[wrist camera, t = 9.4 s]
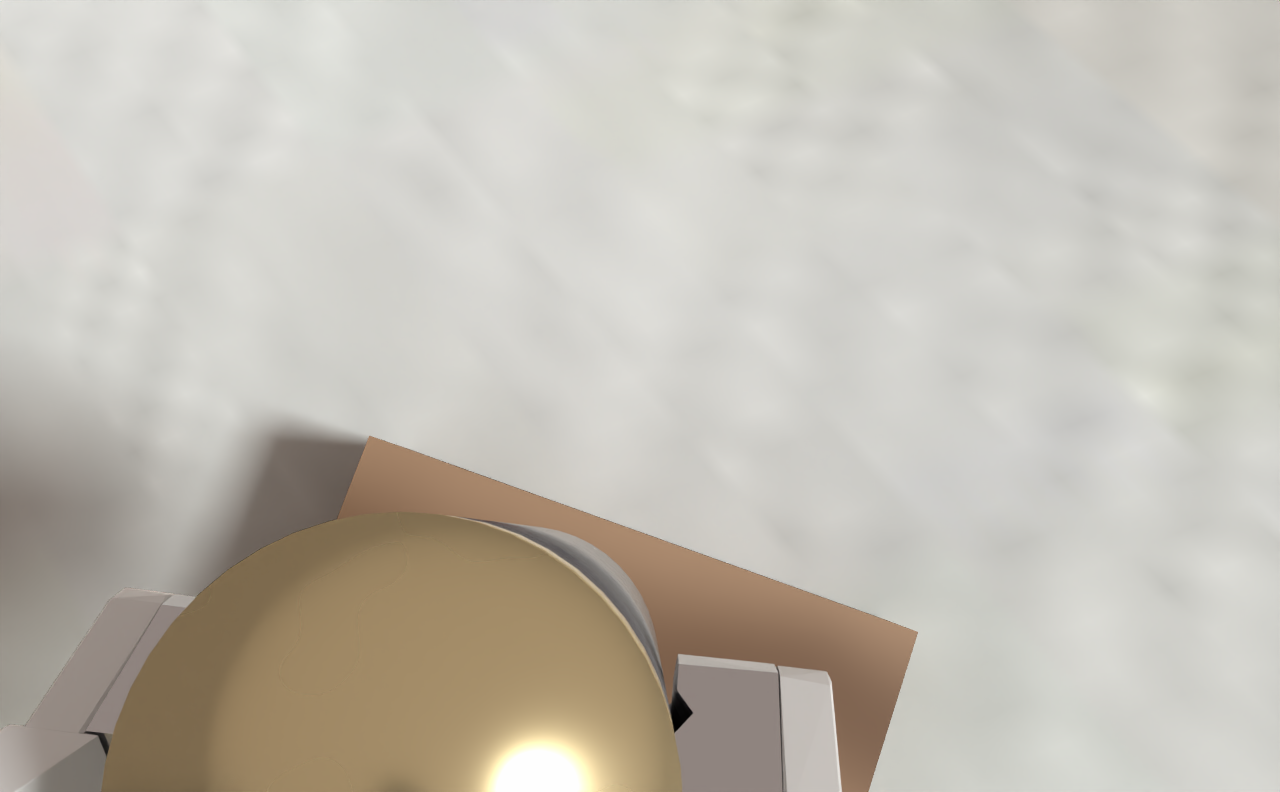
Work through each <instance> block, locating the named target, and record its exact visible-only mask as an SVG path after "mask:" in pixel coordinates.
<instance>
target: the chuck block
mask: <svg viewBox="0 0 1280 792" xmlns="http://www.w3.org/2000/svg"><path fill="white" fill-rule="evenodd" d="M390 512H413V513H427V514H440V515H448V516H456V517H464V518H472V519H480V520H488V521H496V522H504V523H512V524H519V525H527V526H535V527H543V528H548V529H553V530H558V531H562V532H564V533H567V534H570V535H573V536H576V537H578V538H580V539H582V540H584V541H586V542H588V543H590V544H592V545H593V546H595V547H596V548H598V549H599V550H601V551H602V552H604V553H605V554H607V555H608V556H609V557H610V558H611V559H612V560H613V561H614V562H615V563H617V564H618V565H619V566H620V567H621V568H622V570H623V571H624V572H625V573H626V574H627V575H628V577H629V578H630V579H631V580H632V582H633V583H634V585H635V586H636V588H637V589H638V591H639V593H640V594H641V596H642V598H643V600H644V602H645V604H646V606H647V608H648V611H649V613H650V617H651V620H652V623H653V626H654V629H655V634H656V640H657V645H658V650H659V655H660V661H661V666H662V671H663V676H664V682H665V687H666V692H667V697H668V703H669V704H670V703H671V702H672V689H673V676H674V671H675V665H676V660H677V656H678V654H683V655H693V656H702V657H712V658H722V659H731V660H741V661H750V662H760V663H769V664H774V665H775V667H776V666H785V667H794V668H803V669H811V670H820V671H826V672H827V673H828V675H829V677H830V679H831V681H832V691H833V702H834V713H835V723H836V734H837V745H838V756H839V767H840V778H841V788H842V792H868V791H869V788H870V784H871V781H872V778H873V775H874V772H875V768H876V765H877V762H878V759H879V756H880V752H881V749H882V746H883V743H884V740H885V736H886V733H887V730H888V727H889V724H890V720H891V717H892V714H893V711H894V708H895V704H896V701H897V698H898V695H899V692H900V688H901V685H902V682H903V679H904V675H905V672H906V669H907V666H908V663H909V659H910V656H911V653H912V650H913V647H914V643H915V640H916V637H917V634H918V632H916V631H914V630H911V629H908V628H906V627H903V626H900V625H898V624H895V623H892V622H890V621H887V620H884V619H882V618H879V617H876V616H874V615H871V614H868V613H865V612H862V611H860V610H857V609H854V608H851V607H848V606H846V605H843V604H840V603H837V602H834V601H832V600H829V599H826V598H823V597H820V596H818V595H815V594H812V593H809V592H806V591H804V590H801V589H798V588H795V587H793V586H790V585H787V584H784V583H781V582H779V581H776V580H773V579H770V578H767V577H765V576H762V575H759V574H756V573H753V572H751V571H748V570H745V569H742V568H739V567H737V566H734V565H731V564H728V563H725V562H723V561H720V560H717V559H714V558H711V557H709V556H706V555H703V554H700V553H698V552H695V551H692V550H689V549H686V548H684V547H681V546H678V545H675V544H672V543H670V542H667V541H664V540H661V539H658V538H656V537H653V536H650V535H647V534H644V533H642V532H639V531H636V530H633V529H630V528H628V527H625V526H622V525H619V524H616V523H614V522H611V521H608V520H605V519H602V518H600V517H597V516H594V515H591V514H589V513H586V512H583V511H580V510H577V509H575V508H572V507H569V506H566V505H563V504H561V503H558V502H555V501H552V500H549V499H547V498H544V497H541V496H538V495H535V494H533V493H530V492H527V491H524V490H521V489H519V488H516V487H513V486H510V485H507V484H505V483H502V482H499V481H496V480H494V479H491V478H488V477H485V476H482V475H480V474H477V473H474V472H471V471H468V470H466V469H463V468H460V467H457V466H454V465H452V464H449V463H446V462H443V461H440V460H438V459H435V458H432V457H429V456H426V455H424V454H421V453H418V452H415V451H412V450H410V449H407V448H404V447H401V446H398V445H395V444H392V443H389V442H386V441H383V440H380V439H377V438H374V437H372V436H369V438H368V440H367V443H366V446H365V448H364V451H363V453H362V456H361V458H360V461H359V464H358V466H357V469H356V471H355V474H354V476H353V479H352V481H351V484H350V487H349V489H348V492H347V494H346V497H345V499H344V502H343V504H342V507H341V510H340V512H339V515H338V517H337V519H342V518H348V517H353V516H358V515H363V514H373V513H390Z"/></svg>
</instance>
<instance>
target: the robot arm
mask: <svg viewBox="0 0 1280 792" xmlns="http://www.w3.org/2000/svg"><path fill="white" fill-rule="evenodd" d="M195 598H196V597H194V596H188V595H181V594H174V593H166V592H158V591H150V590H142V589H135V588H127V587H125V588H124V589H122V590H121V591H120V592H119V593H117V594H116V595H115V596H113V597H112V598H111V599H110V600H109V601H108V602H107V604H106V605H105V607H104V608H103V610H102V611H101V613H100V614H99V616H98V617H97V619H96V620H95V622H94V623H93V625H92V626H91V628H90V629H89V631H88V632H87V634H86V635H85V637H84V638H83V640H82V641H81V642H80V644H79V645H78V647H77V648H76V650H75V651H74V653H73V654H72V656H71V657H70V659H69V660H68V662H67V663H66V665H65V666H64V668H63V669H62V671H61V672H60V674H59V675H58V677H57V678H56V680H55V681H54V683H53V684H52V686H51V687H50V689H49V690H48V692H47V693H46V695H45V696H44V698H43V699H42V701H41V702H40V704H39V705H38V707H37V708H36V710H35V711H34V713H33V714H32V716H31V717H30V719H29V720H28V722H27V723H26V725H25V726H22V725H11V724H9V725H7V726H6V727H4V728H3V729H1V730H0V792H101V788H102V781H103V774H104V766H105V762H106V758H107V754H108V750H109V747H110V743H111V739H112V736H113V732H114V728H115V725H116V722H117V720H118V717H119V715H120V713H121V710H122V708H123V705H124V703H125V700H126V698H127V695H128V693H129V690H130V688H131V686H132V684H133V683H134V681H135V679H136V677H137V675H138V674H139V672H140V670H141V668H142V666H143V665H144V663H145V661H146V659H147V657H148V656H149V654H150V653H151V651H152V650H153V648H154V647H155V646H156V644H157V643H158V642H159V640H160V639H161V637H162V636H163V635H164V633H165V632H166V631H167V629H168V628H169V626H170V625H171V624H172V622H173V621H174V620H175V619H176V618H177V617H178V616H179V615H180V614H181V613H182V612H183V611H184V610H185V608H186V607H187V606H188V605H189V604H190V603H191V602H192V601H193V600H194V599H195ZM669 708H670V713H671V719H672V724H673V729H674V734H675V740H676V745H677V750H678V755H679V761H680V766H681V779H682V792H842V788H841V778H840V767H839V756H838V745H837V734H836V723H835V713H834V702H833V691H832V681H831V679H830V677H829V675H828V673H827V672H826V671H820V670H811V669H803V668H794V667H785V666H776V667H775V665H774V664H769V663H760V662H750V661H741V660H731V659H722V658H712V657H702V656H693V655H683V654H678V656H677V660H676V665H675V671H674V676H673V689H672V702H671V703H670V704H669Z"/></svg>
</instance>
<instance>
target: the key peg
mask: <svg viewBox="0 0 1280 792" xmlns="http://www.w3.org/2000/svg"><path fill="white" fill-rule="evenodd" d="M101 792H682V779H681V766H680V761H679V755H678V750H677V745H676V740H675V734H674V729H673V724H672V719H671V713H670V708H669V703H668V697H667V692H666V687H665V682H664V676H663V671H662V666H661V661H660V655H659V650H658V645H657V640H656V634H655V629H654V626H653V623H652V620H651V617H650V613H649V611H648V608H647V606H646V604H645V602H644V600H643V598H642V596H641V594H640V593H639V591H638V589H637V588H636V586H635V585H634V583H633V582H632V580H631V579H630V578H629V577H628V575H627V574H626V573H625V572H624V571H623V570H622V568H621V567H620V566H619V565H618V564H617V563H615V562H614V561H613V560H612V559H611V558H610V557H609V556H608V555H607V554H605V553H604V552H602V551H601V550H599V549H598V548H596V547H595V546H593V545H592V544H590V543H588V542H586V541H584V540H582V539H580V538H578V537H576V536H573V535H570V534H567V533H564V532H562V531H558V530H553V529H548V528H543V527H535V526H527V525H519V524H512V523H504V522H496V521H488V520H480V519H472V518H464V517H456V516H448V515H440V514H427V513H413V512H390V513H373V514H363V515H358V516H353V517H348V518H342V519H337V520H332V521H328V522H325V523H322V524H319V525H316V526H313V527H310V528H307V529H304V530H301V531H298V532H295V533H292V534H290V535H288V536H286V537H284V538H282V539H280V540H278V541H276V542H274V543H272V544H270V545H267V546H265V547H263V548H261V549H259V550H258V551H256V552H255V553H253V554H252V555H250V556H249V557H247V558H245V559H244V560H242V561H241V562H239V563H238V564H236V565H235V566H233V567H231V568H230V569H228V570H227V571H226V572H225V573H224V574H222V575H221V576H220V577H219V578H218V579H216V580H215V581H214V582H213V583H212V584H210V585H209V586H208V587H207V588H206V589H204V590H203V591H202V592H201V593H200V594H199V595H198V596H197V597H196V598H195V599H194V600H193V601H192V602H191V603H190V604H189V605H188V606H187V607H186V608H185V610H184V611H183V612H182V613H181V614H180V615H179V616H178V617H177V618H176V619H175V620H174V621H173V622H172V624H171V625H170V626H169V628H168V629H167V631H166V632H165V633H164V635H163V636H162V637H161V639H160V640H159V642H158V643H157V644H156V646H155V647H154V648H153V650H152V651H151V653H150V654H149V656H148V657H147V659H146V661H145V663H144V665H143V666H142V668H141V670H140V672H139V674H138V675H137V677H136V679H135V681H134V683H133V684H132V686H131V688H130V690H129V693H128V695H127V698H126V700H125V703H124V705H123V708H122V710H121V713H120V715H119V717H118V720H117V722H116V725H115V728H114V732H113V736H112V739H111V743H110V747H109V750H108V754H107V758H106V762H105V766H104V774H103V781H102V788H101Z"/></svg>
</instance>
